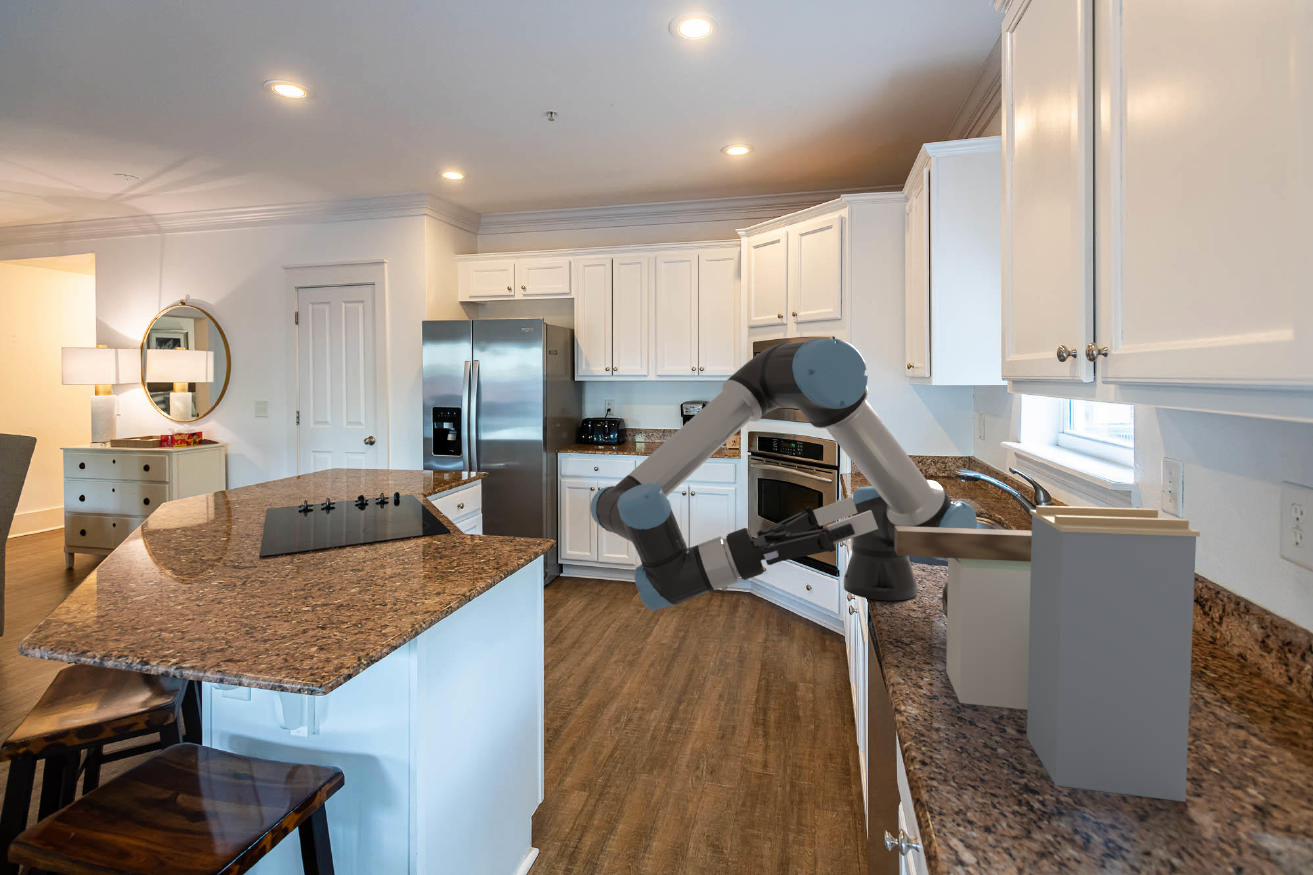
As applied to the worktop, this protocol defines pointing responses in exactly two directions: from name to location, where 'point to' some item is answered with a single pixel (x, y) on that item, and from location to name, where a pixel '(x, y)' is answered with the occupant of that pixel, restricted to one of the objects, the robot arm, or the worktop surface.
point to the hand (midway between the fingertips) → (863, 511)
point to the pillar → (1111, 648)
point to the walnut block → (963, 543)
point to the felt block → (989, 631)
